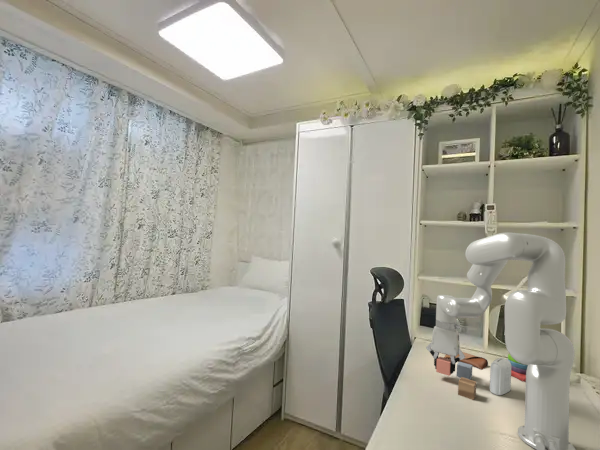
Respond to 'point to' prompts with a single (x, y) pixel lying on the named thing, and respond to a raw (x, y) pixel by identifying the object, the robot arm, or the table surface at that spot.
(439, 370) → the pink cube
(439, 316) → the robot arm
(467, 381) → the tan block
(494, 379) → the photo printer
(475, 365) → the sunglasses case
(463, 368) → the slate block
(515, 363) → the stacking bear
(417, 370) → the table surface
